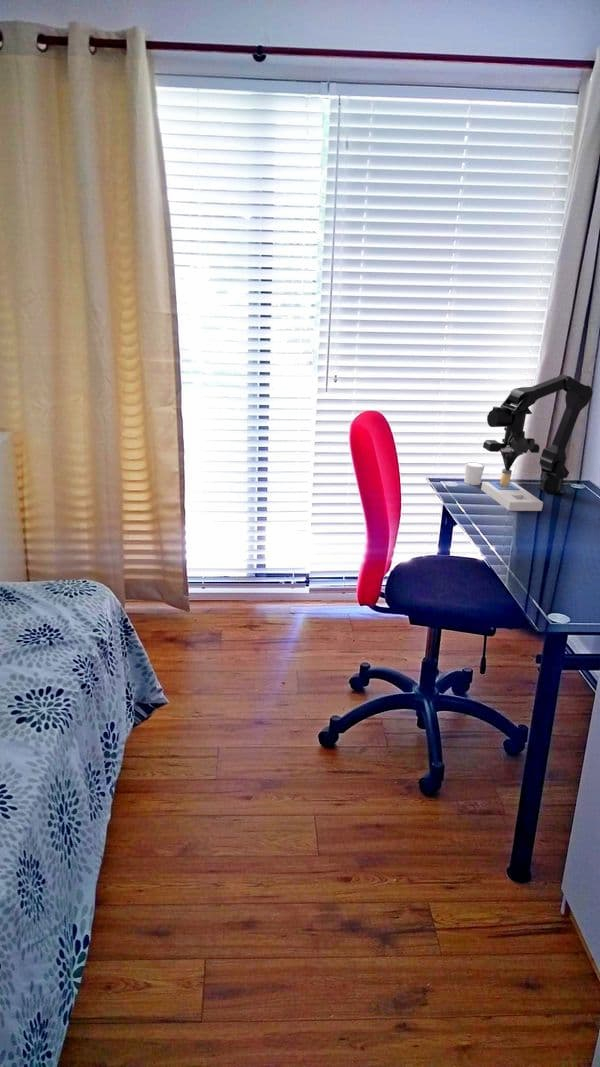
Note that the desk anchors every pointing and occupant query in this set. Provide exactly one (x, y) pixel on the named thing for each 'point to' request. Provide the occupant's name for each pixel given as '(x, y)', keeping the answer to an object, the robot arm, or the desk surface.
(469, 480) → the white cylinder
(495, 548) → the desk surface
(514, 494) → the block
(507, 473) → the grey-capped tan cylinder
